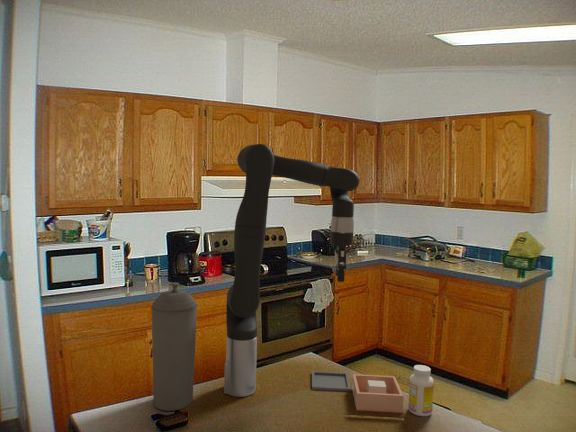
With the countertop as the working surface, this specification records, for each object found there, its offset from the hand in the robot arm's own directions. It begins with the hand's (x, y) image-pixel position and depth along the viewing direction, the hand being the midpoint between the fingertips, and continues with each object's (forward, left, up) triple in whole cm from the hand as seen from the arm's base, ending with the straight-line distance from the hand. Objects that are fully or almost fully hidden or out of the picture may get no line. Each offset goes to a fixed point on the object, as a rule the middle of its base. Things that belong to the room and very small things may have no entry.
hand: (339, 278), depth 150 cm
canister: (-48, -25, -33) cm, 64 cm away
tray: (-2, -7, -33) cm, 34 cm away
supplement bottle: (+23, -22, -33) cm, 46 cm away
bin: (+11, -18, -33) cm, 39 cm away
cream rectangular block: (+11, -18, -32) cm, 38 cm away
